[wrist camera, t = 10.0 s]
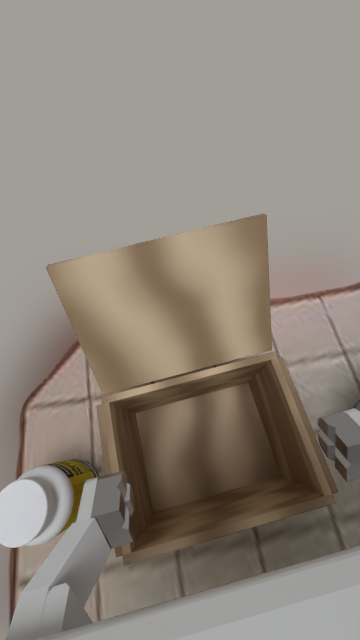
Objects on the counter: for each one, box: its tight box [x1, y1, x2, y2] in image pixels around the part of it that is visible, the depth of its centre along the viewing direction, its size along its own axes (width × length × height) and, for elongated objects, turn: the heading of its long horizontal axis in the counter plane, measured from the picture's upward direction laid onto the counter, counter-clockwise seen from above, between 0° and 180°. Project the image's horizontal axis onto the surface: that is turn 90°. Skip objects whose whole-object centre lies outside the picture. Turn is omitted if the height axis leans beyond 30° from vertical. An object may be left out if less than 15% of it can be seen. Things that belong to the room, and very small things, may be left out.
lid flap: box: [46, 214, 272, 394], centre depth 22 cm, size 16×12×1 cm
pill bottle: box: [0, 460, 98, 548], centre depth 27 cm, size 6×6×11 cm
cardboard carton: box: [97, 352, 338, 565], centre depth 28 cm, size 17×12×12 cm
